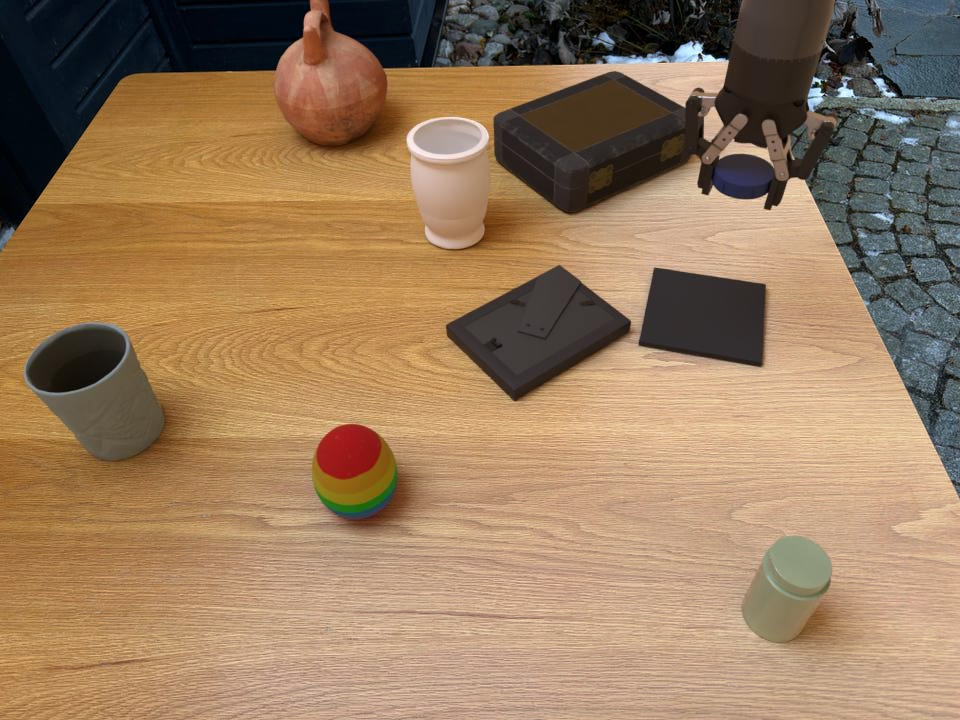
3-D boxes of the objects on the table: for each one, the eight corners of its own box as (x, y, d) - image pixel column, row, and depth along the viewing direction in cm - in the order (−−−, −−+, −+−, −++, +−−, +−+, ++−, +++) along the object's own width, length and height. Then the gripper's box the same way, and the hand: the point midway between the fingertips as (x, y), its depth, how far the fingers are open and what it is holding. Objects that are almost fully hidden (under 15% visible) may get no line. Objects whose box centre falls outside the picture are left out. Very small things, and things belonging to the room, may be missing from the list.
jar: (402, 239, 105) (389, 143, 94) (446, 202, 110) (438, 108, 99) (464, 265, 100) (457, 167, 89) (506, 225, 106) (505, 129, 95)
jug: (386, 156, 120) (368, 30, 105) (275, 159, 120) (241, 35, 106) (396, 100, 132) (381, -19, 118) (295, 103, 133) (268, -15, 118)
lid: (701, 187, 76) (704, 173, 75) (727, 161, 79) (730, 147, 78) (756, 206, 73) (759, 193, 72) (780, 178, 76) (784, 165, 75)
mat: (764, 288, 95) (766, 283, 94) (760, 367, 86) (762, 362, 85) (653, 271, 98) (654, 267, 97) (638, 345, 89) (639, 341, 88)
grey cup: (181, 440, 81) (140, 366, 73) (86, 483, 78) (31, 410, 69) (155, 383, 87) (115, 307, 79) (66, 420, 84) (14, 346, 75)
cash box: (609, 109, 127) (613, 65, 122) (695, 160, 115) (704, 114, 110) (488, 157, 118) (486, 111, 113) (567, 218, 106) (570, 171, 101)
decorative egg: (323, 465, 78) (304, 404, 71) (401, 459, 79) (389, 397, 71) (317, 534, 73) (295, 475, 65) (401, 527, 73) (388, 468, 66)
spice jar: (802, 593, 67) (835, 539, 60) (804, 649, 63) (838, 599, 57) (742, 580, 68) (767, 526, 61) (740, 634, 64) (766, 583, 58)
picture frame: (558, 276, 98) (446, 335, 91) (558, 262, 96) (445, 322, 89) (630, 332, 90) (514, 401, 83) (632, 318, 89) (514, 388, 82)
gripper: (685, 40, 65) (659, 201, 78) (859, 69, 61) (801, 236, 73) (709, 8, 70) (680, 164, 82) (872, 33, 65) (816, 195, 77)
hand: (737, 197), depth 78 cm, fingers closed on lid, 5 cm apart
